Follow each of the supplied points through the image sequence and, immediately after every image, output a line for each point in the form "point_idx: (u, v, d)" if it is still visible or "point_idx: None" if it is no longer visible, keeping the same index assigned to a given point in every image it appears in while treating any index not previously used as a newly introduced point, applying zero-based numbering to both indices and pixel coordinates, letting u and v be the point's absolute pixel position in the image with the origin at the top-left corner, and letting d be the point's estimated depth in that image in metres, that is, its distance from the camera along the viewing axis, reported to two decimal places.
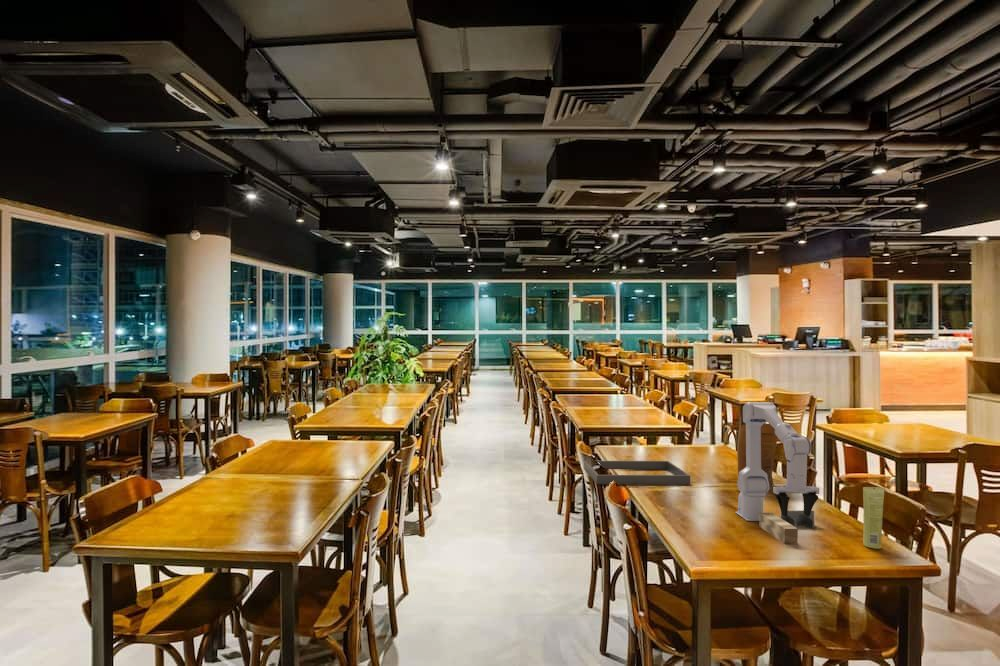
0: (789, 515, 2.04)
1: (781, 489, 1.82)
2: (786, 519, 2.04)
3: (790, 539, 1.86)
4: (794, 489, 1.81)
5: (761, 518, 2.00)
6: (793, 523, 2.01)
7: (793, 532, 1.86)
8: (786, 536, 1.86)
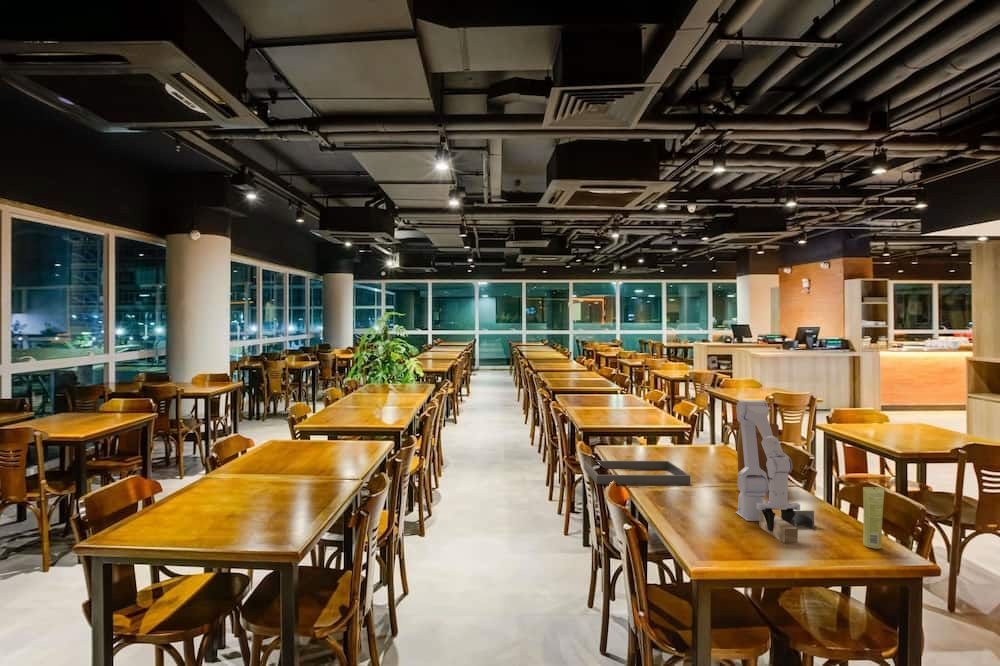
0: None
1: (764, 505, 1.92)
2: None
3: (790, 538, 1.86)
4: (776, 505, 1.91)
5: (761, 517, 2.00)
6: (793, 523, 2.01)
7: (793, 531, 1.86)
8: (786, 535, 1.86)
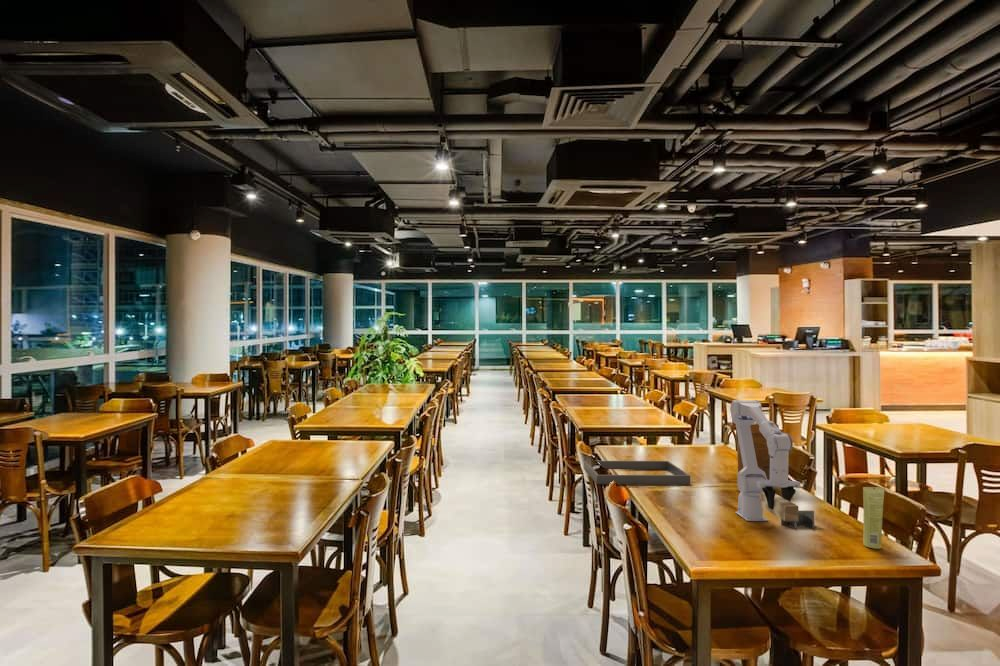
0: None
1: (764, 483, 1.92)
2: None
3: (791, 516, 1.86)
4: (776, 483, 1.91)
5: (761, 497, 2.00)
6: (793, 523, 2.01)
7: (793, 509, 1.86)
8: (786, 513, 1.86)
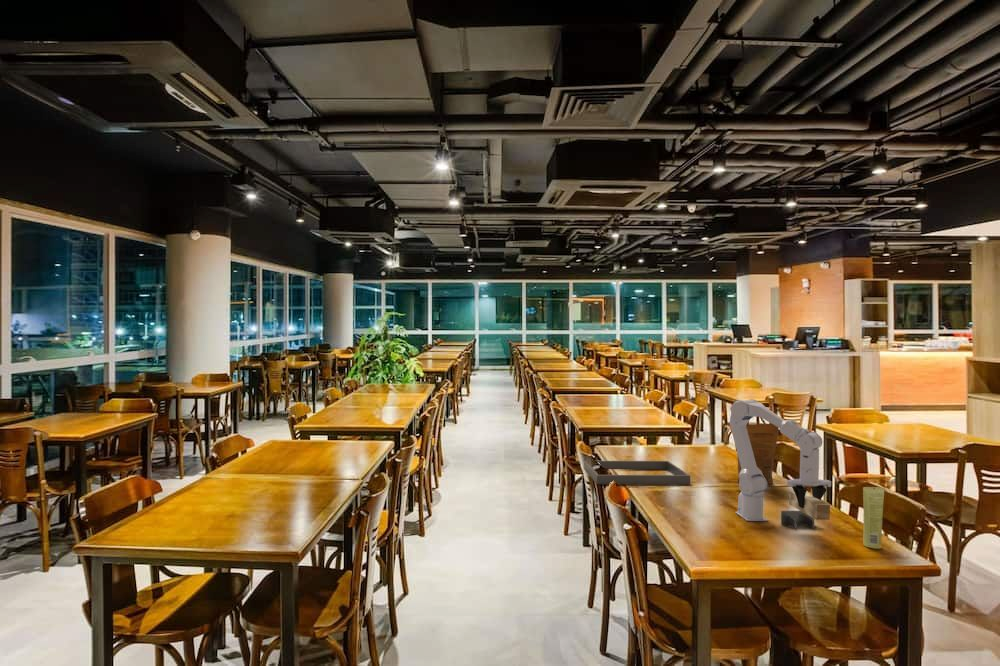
0: (789, 515, 2.04)
1: (795, 482, 1.93)
2: (786, 519, 2.04)
3: (822, 515, 1.86)
4: (807, 482, 1.92)
5: (791, 496, 2.01)
6: (793, 523, 2.01)
7: (825, 508, 1.86)
8: (818, 512, 1.86)
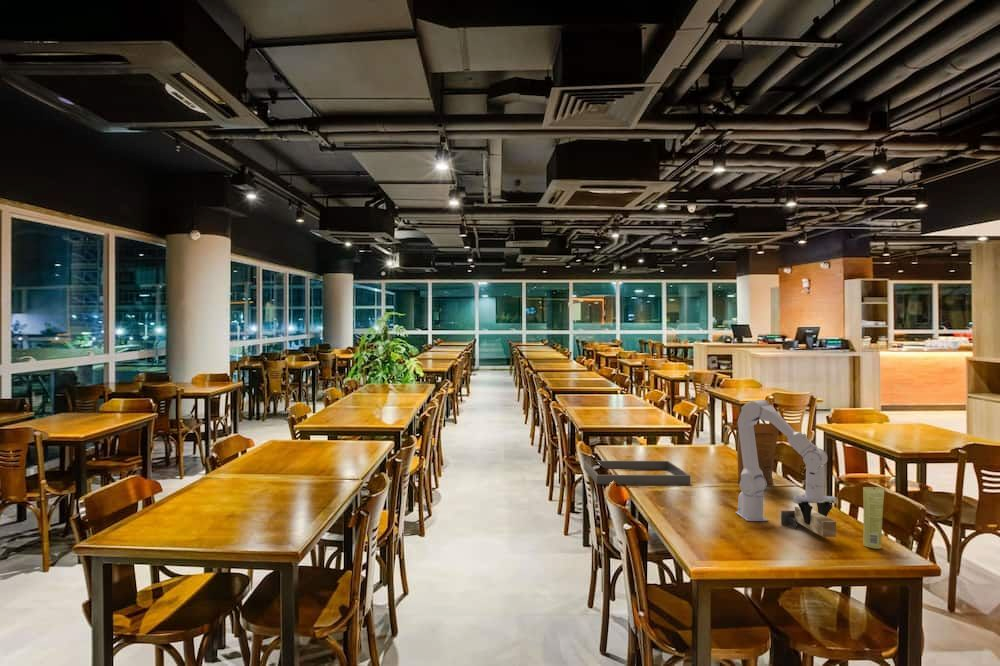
0: (789, 515, 2.04)
1: (800, 499, 1.93)
2: (786, 519, 2.04)
3: (828, 532, 1.87)
4: (813, 499, 1.92)
5: (796, 511, 2.01)
6: (793, 523, 2.01)
7: (831, 525, 1.87)
8: (824, 529, 1.86)
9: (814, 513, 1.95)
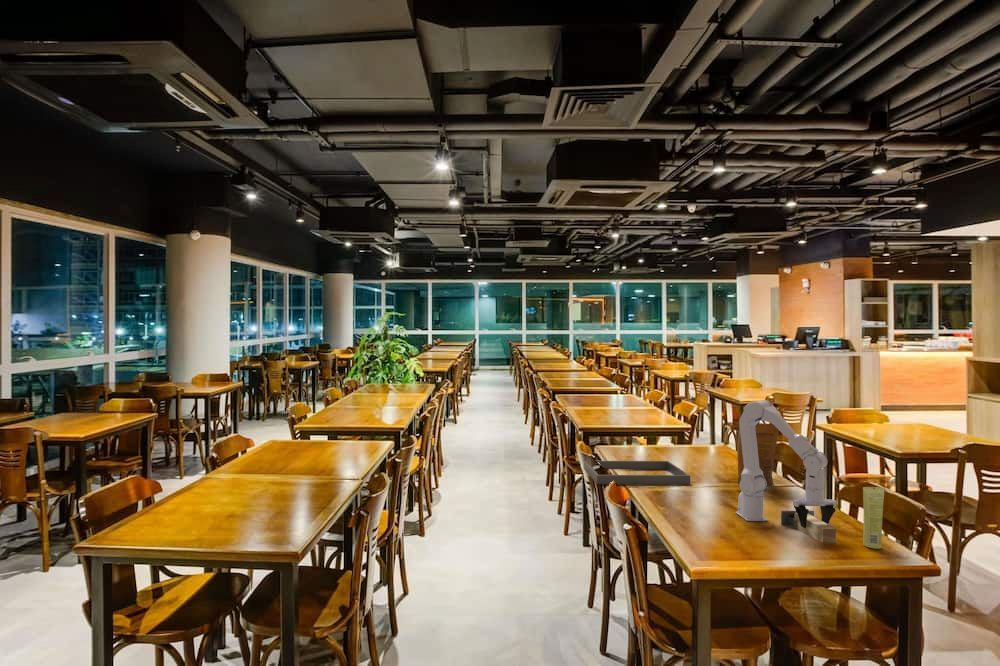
0: (789, 515, 2.04)
1: (800, 502, 1.93)
2: (786, 519, 2.04)
3: (828, 539, 1.87)
4: (813, 502, 1.92)
5: (796, 518, 2.01)
6: (793, 523, 2.01)
7: (831, 532, 1.87)
8: (824, 536, 1.86)
9: (814, 519, 1.95)
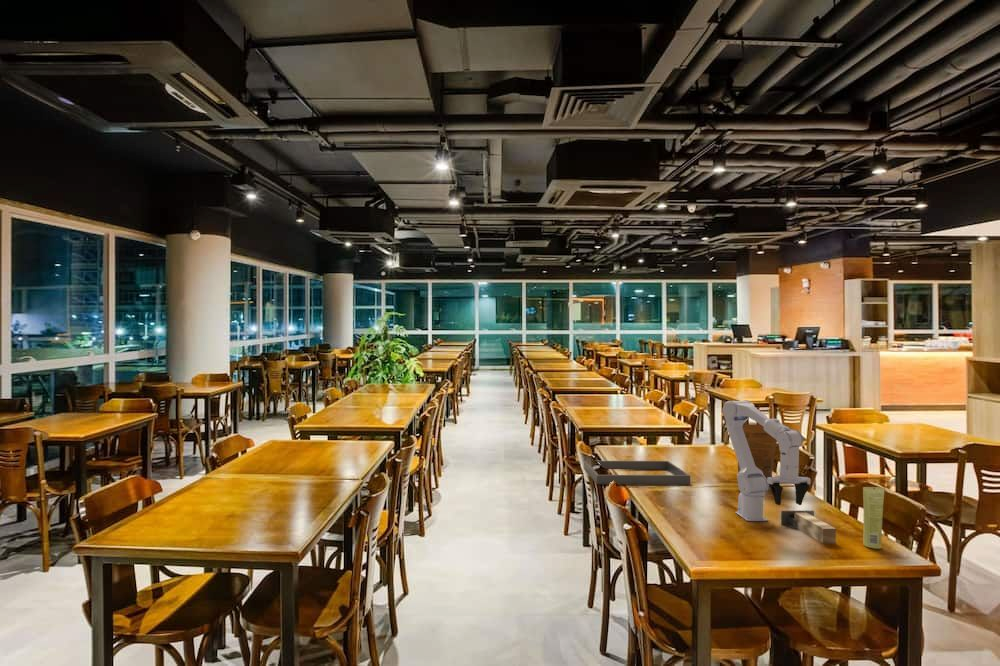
0: (789, 515, 2.04)
1: (775, 479, 1.94)
2: (786, 519, 2.04)
3: (828, 539, 1.87)
4: (787, 479, 1.93)
5: (796, 518, 2.01)
6: (793, 523, 2.01)
7: (831, 532, 1.87)
8: (824, 536, 1.86)
9: (814, 519, 1.95)
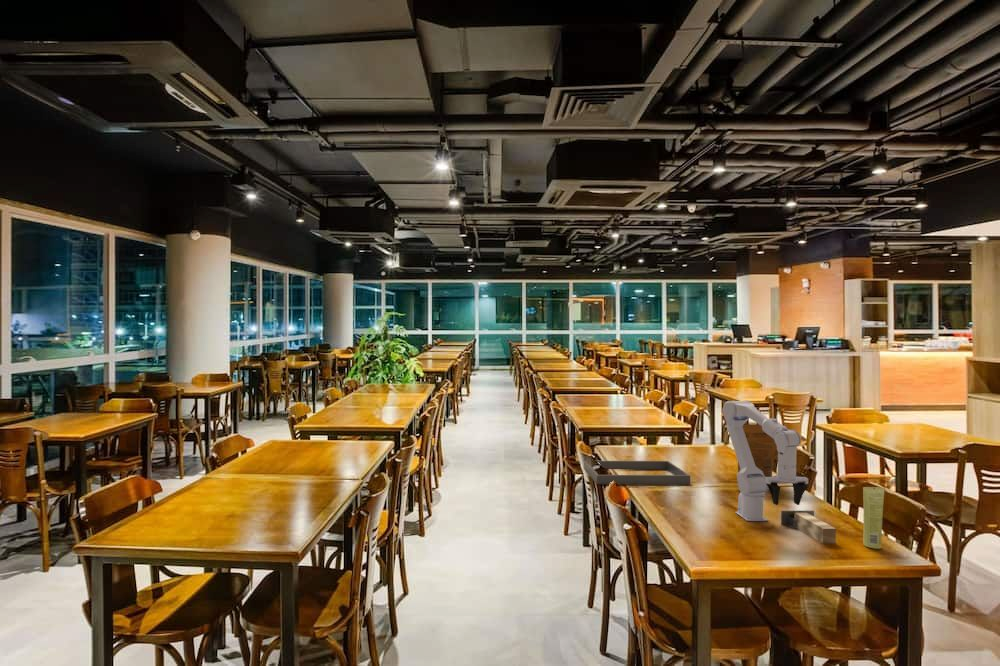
0: (789, 515, 2.04)
1: (772, 479, 1.94)
2: (786, 519, 2.04)
3: (828, 539, 1.87)
4: (784, 479, 1.94)
5: (796, 518, 2.01)
6: (793, 523, 2.01)
7: (831, 532, 1.87)
8: (824, 536, 1.86)
9: (814, 519, 1.95)
